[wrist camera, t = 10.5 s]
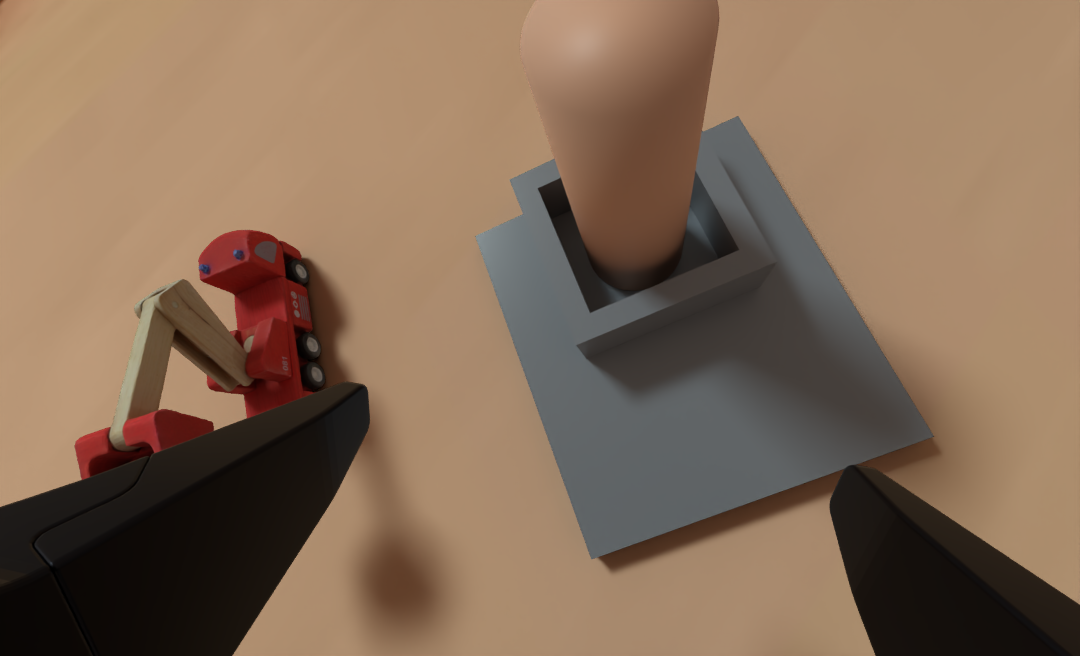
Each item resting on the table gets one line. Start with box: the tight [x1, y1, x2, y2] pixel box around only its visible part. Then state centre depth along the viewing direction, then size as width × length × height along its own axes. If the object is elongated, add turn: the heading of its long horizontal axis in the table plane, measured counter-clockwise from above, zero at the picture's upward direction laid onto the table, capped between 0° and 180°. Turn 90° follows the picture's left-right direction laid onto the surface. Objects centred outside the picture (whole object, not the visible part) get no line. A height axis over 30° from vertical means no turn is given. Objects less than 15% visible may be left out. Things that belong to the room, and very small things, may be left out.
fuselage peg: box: [520, 0, 719, 291], centre depth 17 cm, size 4×4×12 cm
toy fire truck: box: [75, 230, 325, 480], centre depth 22 cm, size 3×14×10 cm, turn 17°
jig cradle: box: [475, 116, 934, 559], centre depth 20 cm, size 16×14×4 cm
